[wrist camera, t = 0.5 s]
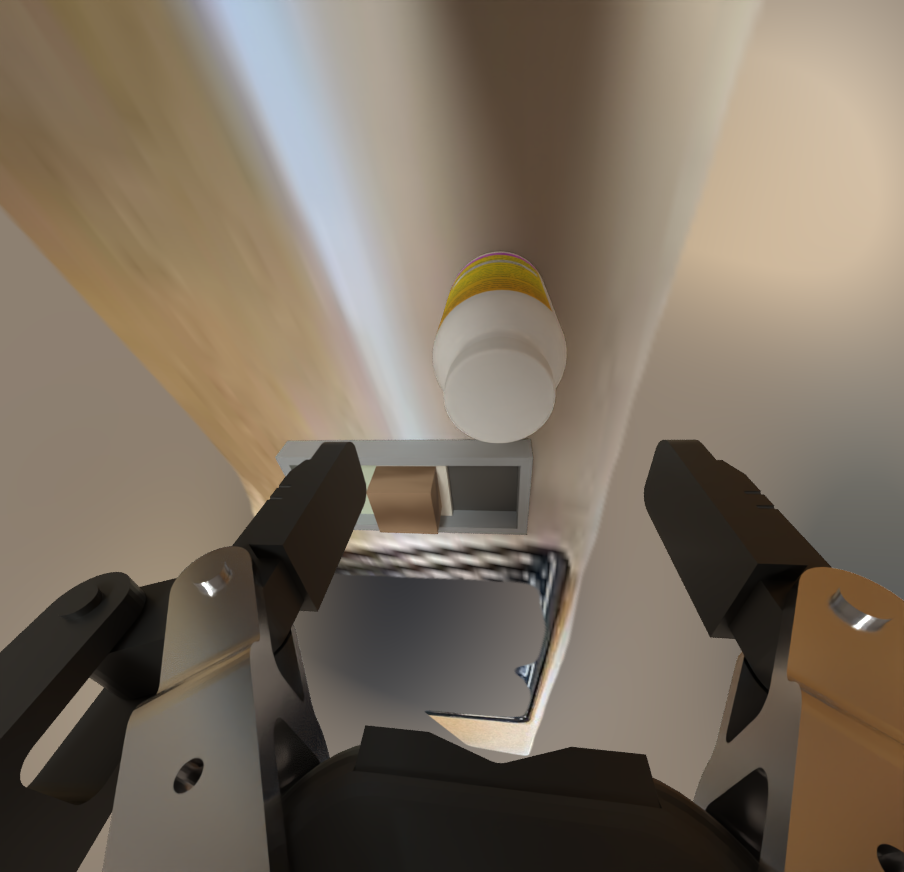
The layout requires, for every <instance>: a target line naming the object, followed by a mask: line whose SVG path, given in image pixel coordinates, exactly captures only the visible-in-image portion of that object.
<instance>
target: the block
mask: <svg viewBox="0 0 904 872" xmlns="http://www.w3.org/2000/svg"><path fill="white" fill-rule="evenodd" d="M367 496H368V499H369V502H370V505H371V508H372V510H373V513H374V516H375V519H376V522H377V525H378V527H379V530H380V532H387V533H421V534H438V530H439V524H440V517H441V510H442V503H441V497H440V491H439V484H438V478H437V472H436V466H376V468H375V471H374V473H373V476H372V479H371V481H370V484H369V486H368V489H367Z"/></svg>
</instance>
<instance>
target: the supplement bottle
mask: <svg viewBox="0 0 904 872" xmlns="http://www.w3.org/2000/svg"><path fill="white" fill-rule="evenodd" d="M432 359H433V368H434V373H435V376H436V379H437V381H438V384H439V386H440V388H441V389H442V391H443V392H444V405H445V409H446V412H447V414H448V416H449V418H450V420H451V421H452V422H453V424H454V425H455V426H456V427H457V428H458V429H459V430H460V431H462V432H463V433H465V434H466V435H468V436H470V437H472V438H474V439H477V440H479V441H483V442H488V443H509V442H514V441H518V440H521V439H523V438H525V437H528V436H529V435H531V434H533V433H534V432H536V431H537V430H538V429H539V428H541V427H542V426H543V424H544V423H545V422H546V421H547V420H548V418H549V416H550V415H551V413H552V410H553V408H554V404H555V396H556V391H555V389H556V388H557V386H558V384H559V382H560V380H561V378H562V376H563V373H564V370H565V366H566V360H567V347H566V340H565V337H564V334H563V331H562V328H561V326H560V323H559V321H558V318H557V316H556V313H555V311H554V308H553V306H552V303H551V300H550V298H549V295H548V292H547V290H546V287H545V284H544V282H543V280H542V277H541V276H540V274H539V272H538V271H537V269H536V268H535V267H534V266H533V265H532V264H531V263H530V262H529V261H528V260H526V259H525V258H523V257H521V256H519V255H517V254H514V253H511V252H504V251H497V252H490V253H486V254H483V255H480V256H478V257H477V258H475V259H473V260H472V261H470V262H469V263H468V264H467V265H466V266H465V267H464V268H463V269H462V270H461V271H460V272H459V274H458V275H457V277H456V278H455V280H454V283H453V285H452V288H451V290H450V294H449V297H448V300H447V303H446V307H445V310H444V313H443V316H442V319H441V322H440V325H439V328H438V331H437V334H436V338H435V342H434V346H433V356H432Z"/></svg>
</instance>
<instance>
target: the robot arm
mask: <svg viewBox="0 0 904 872" xmlns="http://www.w3.org/2000/svg"><path fill="white" fill-rule="evenodd" d="M366 494H367V489H366V482H365V478H364V475H363V472H362V468H361V465H360V461H359V458H358V454H357V451H356V447H355V445H354V444H353V443H352V442H323V443H322V444H321V445H320V447H319V448H318V449H317V451H316V452H315V454H314V455H313V456H312V458H311V459H310V460H305V461H303V462H302V463H300V464H299V465H298V466H296V467H295V468H294V469H292V470H291V471H290V472H289V473H288V474H287V476H286V477H285V478H284V479H283V481H282V482H281V483H280V485H279V488H277V489H276V490H275V491H274V492H273V494H272V495H271V496H270V500H267V501H266V503H265V504H264V505H263V507H262V508H261V509H260V511H259V512H258V513H257V514H256V516H255V517H254V518H253V520H252V521H251V522H250V524H249V525H248V526H247V527H246V529H245V530H244V531H243V533H242V534H241V535H240V536H239V538H238V539H237V540H236V542H235V543H234V544H233V546H229V547H223V548H219V549H217V550H214V551H211V552H209V553H207V554H205V555H203V556H201V557H200V558H198V559H197V560H195V561H194V562H192V563H191V564H190V565H189V566H188V567H186V568H185V569H184V571H183V572H182V573H181V574H180V575H179V576H178V577H177V578H175V579H171V580H167V581H163V582H158V583H154V584H150V585H146V586H142V587H139V586H138V585H137V584H136V583H135V582H134V581H133V580H132V579H131V578H130V577H129V576H128V575H126V574H124V573H122V572H113V573H112V572H111V573H106V574H102V575H99V576H96V577H94V578H91V579H89V580H87V581H85V582H83V583H81V584H79V585H77V586H75V587H74V588H72V589H71V590H69V591H68V592H66V593H65V594H64V595H62V596H61V597H59V598H58V599H57V600H56V601H55V602H53V603H52V604H51V605H50V606H49V607H48V608H47V609H46V610H45V611H44V612H43V613H41V614H40V615H39V616H38V617H37V618H36V619H35V620H34V621H33V622H32V623H31V624H30V625H29V626H28V627H27V628H26V629H25V630H24V631H22V633H20V634H19V635H18V636H17V637H16V638H15V639H14V640H13V641H12V642H11V643H10V644H9V645H8V646H7V647H6V648H4V649H3V650H2V651H1V652H0V872H77V870H78V868H79V867H80V865H81V863H82V861H83V860H84V858H85V856H86V855H87V853H88V851H89V850H90V848H91V846H92V845H93V843H94V841H95V840H96V838H97V836H98V834H99V833H100V831H101V829H102V828H103V826H104V824H105V823H106V821H107V819H108V817H109V816H110V814H111V813H112V816H111V823H110V828H109V834H108V840H107V847H106V852H105V858H104V864H103V870H102V872H904V601H903V600H902V599H901V598H899V597H898V596H897V595H895V594H894V593H892V592H891V591H889V590H887V589H886V588H884V587H883V586H881V585H879V584H877V583H875V582H873V581H871V580H869V579H867V578H865V577H862V576H860V575H857V574H854V573H851V572H848V571H845V570H840V569H836V568H832V567H831V566H830V565H829V564H828V563H827V562H826V561H825V560H824V558H822V556H821V555H819V553H818V552H817V551H816V550H815V549H814V548H813V547H812V546H811V545H810V543H809V542H808V541H807V540H806V539H805V538H804V537H803V536H802V535H801V534H800V533H799V532H798V531H797V529H796V528H795V527H794V526H793V525H792V524H791V523H790V522H789V521H788V520H787V519H786V518H785V517H784V516H783V515H782V513H781V512H780V511H779V510H778V509H774V505H773V504H772V503H771V502H770V501H769V500H768V498H767V497H766V496H765V495H761V493H760V490H759V489H758V488H757V487H756V486H755V484H754V483H753V482H752V481H751V480H750V479H749V478H748V477H747V476H746V475H745V474H744V473H742V472H740V471H739V470H737V469H736V468H734V467H733V466H731V465H729V464H728V463H726V462H724V461H723V460H716V459H715V458H714V457H713V456H712V454H711V453H710V452H709V451H708V450H707V449H706V448H705V446H704V445H703V444H702V443H701V442H700V441H698V440H662V441H660V442H659V443H658V445H657V448H656V451H655V454H654V457H653V461H652V464H651V467H650V470H649V474H648V477H647V480H646V484H645V488H644V501H645V506H646V509H647V511H648V514H649V516H650V518H651V520H652V522H653V524H654V526H655V528H656V530H657V532H658V534H659V536H660V538H661V540H662V541H663V543H664V546H665V548H666V549H667V552H668V554H669V556H670V557H671V560H672V562H673V564H674V566H675V568H676V569H677V572H678V574H679V576H680V578H681V580H682V582H683V584H684V586H685V588H686V590H687V592H688V594H689V596H690V598H691V600H692V602H693V604H694V606H695V608H696V610H697V612H698V614H699V616H700V618H701V620H702V622H703V624H704V626H705V628H706V630H707V632H708V634H709V636H710V637H713V638H714V637H715V638H729V639H736V641H737V643H738V645H739V646H740V648H741V650H742V652H741V654H740V655H739V656H738V658H737V660H736V664H735V668H734V672H733V676H732V680H731V685H730V689H729V693H728V697H727V701H726V705H725V709H724V713H723V717H722V721H721V725H720V729H719V733H718V738H717V741H716V745H715V748H714V751H713V753H712V756H711V758H710V760H709V762H708V763H707V765H706V767H705V769H704V771H703V774H702V776H701V779H700V781H699V784H698V787H697V790H696V793H695V796H694V800H693V801H691V800H690V799H688V798H687V797H685V796H684V795H683V794H681V793H680V792H678V791H676V790H675V789H673V788H671V787H670V786H668V785H666V784H664V783H663V782H661V781H659V780H657V779H655V778H652V775H651V771H650V767H649V764H648V760H647V757H646V755H644V754H635V753H625V752H616V751H606V750H596V749H587V748H577V747H569V748H565V749H561V750H557V751H553V752H548V753H544V754H540V755H536V756H532V757H528V758H524V759H520V760H516V761H512V762H508V763H495V762H492V761H489V760H487V759H485V758H483V757H481V756H479V755H477V754H474V753H473V752H470V751H468V750H466V749H464V748H462V747H460V746H458V745H455V744H453V743H451V742H449V741H447V740H445V739H443V738H440V737H438V736H436V735H434V734H432V733H430V732H423V731H413V730H404V729H395V728H385V727H375V726H365V729H364V733H363V737H362V741H361V745H359V746H355V747H352V748H350V749H347V750H345V751H342V752H340V753H338V754H336V755H334V756H333V757H331V758H330V757H329V752H328V748H327V745H326V741H325V738H324V735H323V732H322V730H321V727H320V725H319V722H318V720H317V718H316V715H315V712H314V709H313V706H312V702H311V697H310V693H309V688H308V684H307V679H306V674H305V670H304V665H303V660H302V656H301V651H300V646H299V642H298V637H297V632H296V629H295V626H294V625H293V623H294V621H295V619H296V617H297V615H298V613H299V611H315V612H317V611H318V610H319V608H320V605H321V603H322V601H323V598H324V596H325V594H326V592H327V589H328V587H329V584H330V582H331V580H332V578H333V576H334V573H335V571H336V569H337V566H338V564H339V562H340V559H341V557H342V555H343V553H344V550H345V548H346V546H347V543H348V541H349V539H350V537H351V534H352V532H353V530H354V527H355V525H356V523H357V521H358V518H359V516H360V514H361V511H362V509H363V507H364V504H365V501H366ZM89 677H90V678H91V679H93V680H94V681H96V682H97V683H99V684H100V685H101V686H103V687H104V689H103V690H102V691H101V693H100V694H99V695H98V697H97V698H96V699H95V701H94V702H93V703H92V704H91V706H90V707H89V708H88V710H87V711H86V712H85V714H84V715H83V717H82V718H81V719H80V720H79V722H78V723H77V724H76V725H75V727H74V728H73V729H72V731H71V732H70V733H69V735H68V736H67V737H66V739H65V740H64V741H63V743H62V744H61V745H60V747H59V748H58V749H57V750H56V752H55V753H54V754H53V756H52V757H51V758H50V760H49V761H48V762H47V764H46V765H45V766H44V768H43V769H42V770H41V771H40V773H39V774H38V775H37V777H36V778H35V779H34V780H33V782H32V783H31V784H30V785H29V786H28V787H27V788H26V787H25V786H23V785H22V783H21V781H20V772H21V768H22V765H23V762H24V760H25V758H26V757H27V755H28V753H29V752H30V750H31V749H32V747H33V746H34V745H35V744H36V742H37V741H38V740H39V739H40V737H41V736H42V735H43V734H44V733H45V731H46V730H47V729H48V728H49V726H50V725H51V724H52V723H53V721H54V720H55V719H56V718H57V716H58V715H59V714H60V713H61V711H62V710H63V709H64V708H65V707H66V705H67V704H68V703H69V702H70V700H71V699H72V698H73V697H74V696H75V694H76V693H77V692H78V691H79V689H80V688H81V687H82V686H83V684H84V683H85V682H86V681H87V679H88V678H89Z"/></svg>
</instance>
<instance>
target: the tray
mask: <svg viewBox="0 0 904 872" xmlns="http://www.w3.org/2000/svg"><path fill="white" fill-rule="evenodd" d="M323 442H352V443H353V444H354V445H355V447H356V451H357V454H358V458H359V461H360V465H361V468H362V472H363V475H364V478H365V482H366V489H368V486H369V484H370V481H371V479H372V476H373V473H374V471H375V468H376V466H436V472H437V478H438V484H439V491H440V497H441V503H442V510H441V517H440V524H439V530H438V532H445V533H480V534H514V535H527V526H528V513H529V500H530V488H531V475H532V462H533V455H532V447H531V439H521V440H518V441H514V442H509V443H488V442H483V441H479V440H345V441H287V442H286V444H285V445H284V446H283V448H282V449H281V450H280V452H279V453H278V454H277V456H276V457H275V458H276V460H277V462H278V464H279V465H280V467H281V469H282V471H283V473H284V475H285V476H287V474H288V473H289V472H290V471H291V470H292V469H294V468H295V467H296V466H298V465H299V464H300V463H302V462H303V461H305V460H310V459H311V458H312V456H313V455H314V454H315V452H316V451H317V449H318V448H319V447H320V445H321V444H322V443H323ZM354 530H376V531H380V530H379V527H378V525H377V522H376V519H375V516H374V513H373V510H372V508H371V505H370V502H369V499H368V496H367V494H366V501H365V504H364V507H363V509H362V511H361V514H360V516H359V518H358V521H357V523H356V525H355V527H354Z"/></svg>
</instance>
